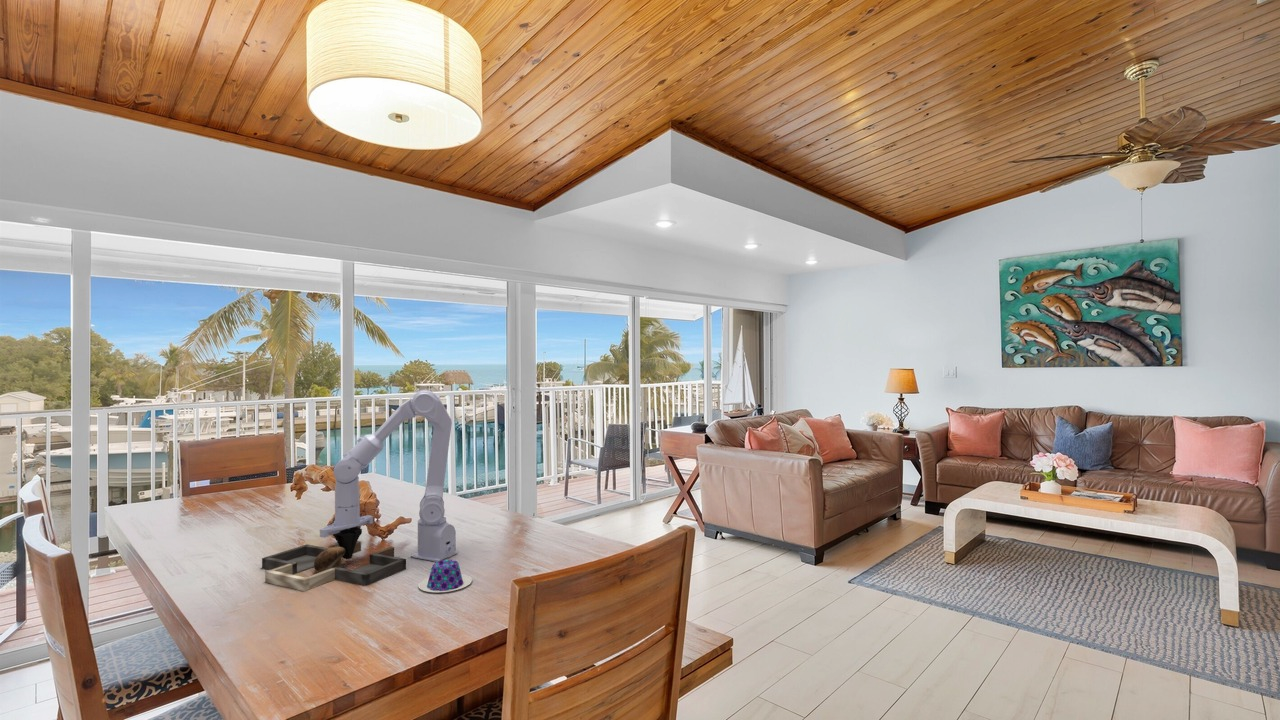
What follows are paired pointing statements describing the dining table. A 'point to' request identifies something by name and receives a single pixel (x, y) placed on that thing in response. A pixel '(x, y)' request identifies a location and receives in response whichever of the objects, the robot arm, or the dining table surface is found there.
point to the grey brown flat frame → (304, 559)
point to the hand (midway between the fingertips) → (347, 558)
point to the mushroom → (329, 559)
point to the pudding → (445, 577)
